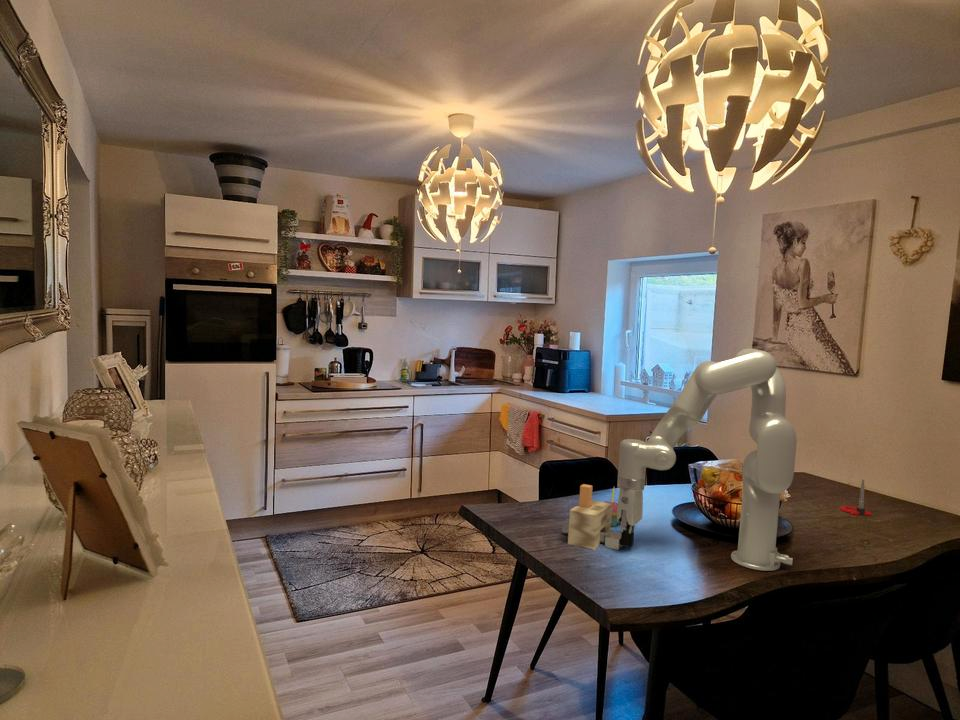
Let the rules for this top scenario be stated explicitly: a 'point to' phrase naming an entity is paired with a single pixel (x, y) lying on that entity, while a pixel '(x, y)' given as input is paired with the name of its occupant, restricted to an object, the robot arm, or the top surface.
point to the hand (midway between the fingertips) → (626, 545)
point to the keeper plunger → (585, 496)
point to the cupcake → (613, 510)
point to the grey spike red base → (861, 505)
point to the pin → (604, 538)
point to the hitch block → (589, 524)
